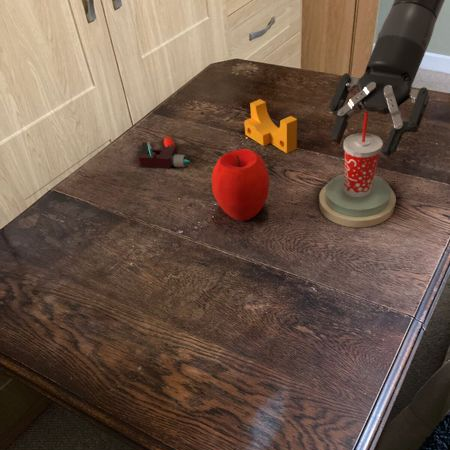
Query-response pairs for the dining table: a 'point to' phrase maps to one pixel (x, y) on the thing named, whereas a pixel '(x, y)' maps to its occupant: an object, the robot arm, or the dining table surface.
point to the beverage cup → (360, 161)
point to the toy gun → (161, 156)
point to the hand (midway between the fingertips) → (359, 148)
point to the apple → (240, 183)
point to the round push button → (357, 204)
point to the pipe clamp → (271, 128)
